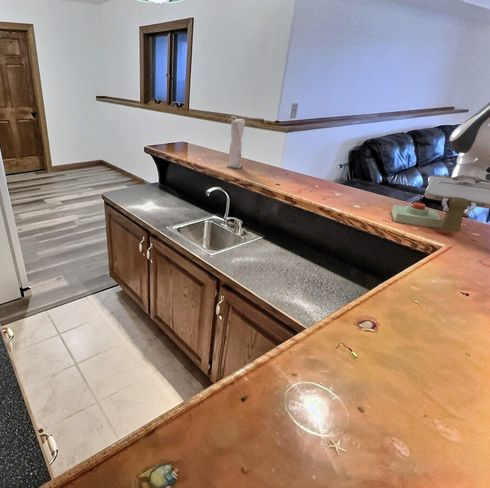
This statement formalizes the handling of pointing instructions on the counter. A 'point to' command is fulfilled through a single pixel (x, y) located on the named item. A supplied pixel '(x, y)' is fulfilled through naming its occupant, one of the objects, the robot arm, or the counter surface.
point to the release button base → (416, 216)
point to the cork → (454, 215)
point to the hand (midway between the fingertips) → (455, 213)
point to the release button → (418, 206)
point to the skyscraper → (236, 143)
